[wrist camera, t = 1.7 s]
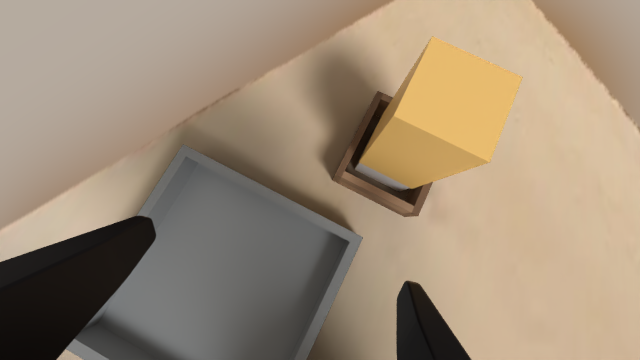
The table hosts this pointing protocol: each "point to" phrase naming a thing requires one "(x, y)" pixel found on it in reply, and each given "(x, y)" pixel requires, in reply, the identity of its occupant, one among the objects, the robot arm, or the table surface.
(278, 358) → the tray
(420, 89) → the amber block
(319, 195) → the table surface
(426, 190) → the frame
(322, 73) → the table surface
